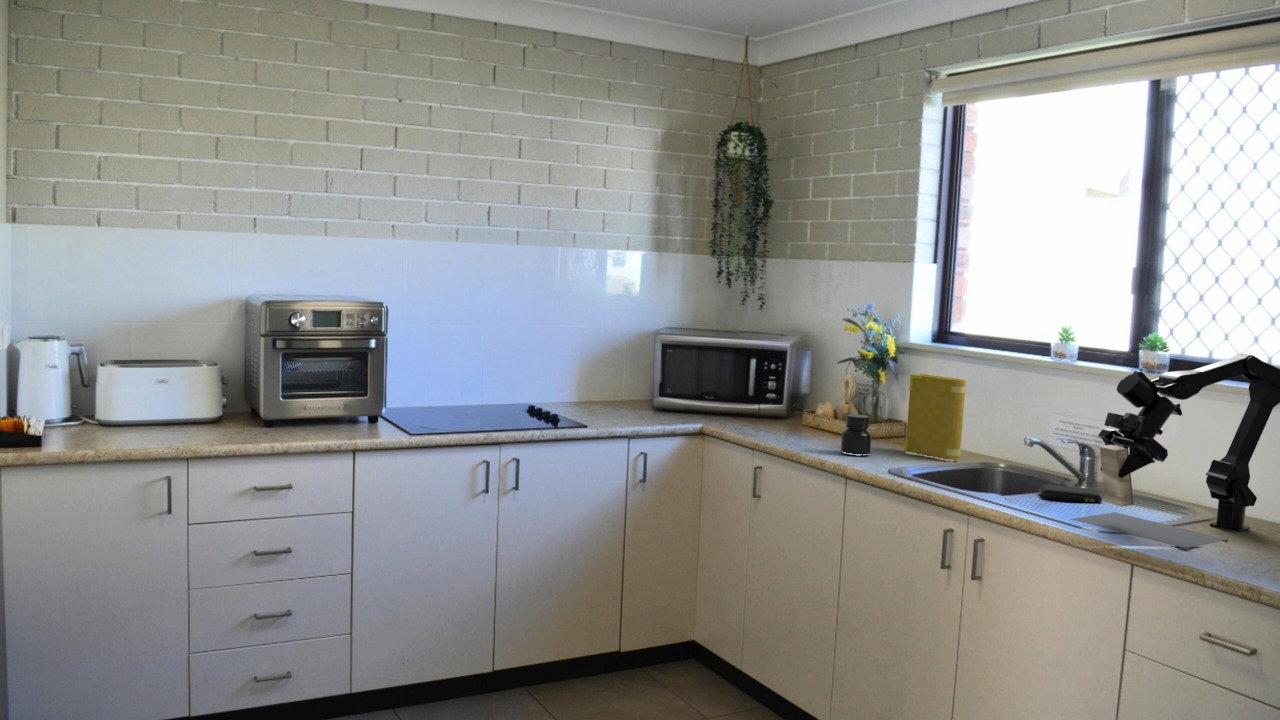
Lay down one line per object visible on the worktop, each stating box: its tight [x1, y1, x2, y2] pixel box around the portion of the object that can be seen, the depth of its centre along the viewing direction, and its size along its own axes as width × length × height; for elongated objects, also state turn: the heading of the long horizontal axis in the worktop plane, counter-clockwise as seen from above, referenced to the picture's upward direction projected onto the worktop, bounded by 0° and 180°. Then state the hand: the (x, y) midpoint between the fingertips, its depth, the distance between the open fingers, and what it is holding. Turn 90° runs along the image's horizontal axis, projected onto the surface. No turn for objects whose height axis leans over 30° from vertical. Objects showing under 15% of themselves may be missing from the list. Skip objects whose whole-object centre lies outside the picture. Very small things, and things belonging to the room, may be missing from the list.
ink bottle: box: [840, 413, 872, 455], centre depth 322 cm, size 10×9×12 cm
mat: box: [1070, 511, 1229, 552], centre depth 238 cm, size 18×27×1 cm, turn 34°
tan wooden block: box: [1099, 444, 1134, 508], centre depth 240 cm, size 3×6×13 cm, turn 8°
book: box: [903, 373, 967, 460], centre depth 324 cm, size 17×7×25 cm, turn 42°
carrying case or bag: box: [1038, 483, 1103, 505], centre depth 270 cm, size 11×3×15 cm
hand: (1110, 474), depth 240 cm, fingers closed on tan wooden block, 6 cm apart
